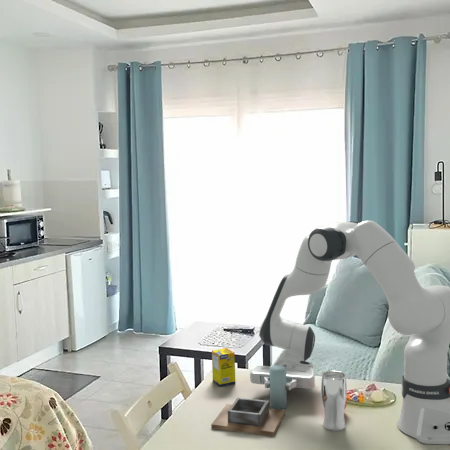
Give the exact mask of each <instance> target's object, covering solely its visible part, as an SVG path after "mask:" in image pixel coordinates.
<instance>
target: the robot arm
mask: <svg viewBox="0 0 450 450" xmlns="http://www.w3.org/2000/svg"><path fill="white" fill-rule="evenodd" d="M296 256H297V257H296V260H295V265H294V268H293V270H292V271H291V272H290V273H289V274H286V275H284V276H283V278H281V280H280V282H279V284H278V287H277V288H276V291H275V293H274V296H273V299H272V301H271V303H270V306H269V308H268V311H267V313H266V315H265V318H264V319H263V321H262V323H261V325H260V327H259V335H258V337H259V339H260V340H261V341H262V343H263V344H264V345H265V346H271V347H275V348H279V349H283V351H282V353H281V354H280V355H279V357H278V358H277V360H276V362H275V363H274V364H273V366H274V365H281V366H284V367H286V391H291V390H292V389H295V388H297V389H298V388H300V389H308V390H310V389H311V390H312V389H314V388H315V385H316V384H315V383H316V382H315V381H316V378H315V376H316V375H315V367H314V364H313V363H312V362H309V361H307V360H308V359H310V357H311V355H312V354H313V350H314V347H315V343H316V335H315V332H314V330H313V329H312V327H311V326H309V325H306V324H302V323H299V322H296V321H291V320H289V319H286V318H282V317H281V312H282V309H283V307H284V305H285V303H286V300H287V299H289V298H291V297H297V296H309V295H313V294H315V293H318V292H320V291H321V290H323V288H324V287H325V286H326V284H327V281H328V279H329V275H330V270H331V266H332V265H331V264H332V261H335V260H336V261H338V260H345V259H349V258H352V257H355V256H357V258H358V259H360V261H361V262H362V264H363V265H364V266H365V268H367V270H368V271H369V273H370V274H371V275H372V276H373V278H374V279H375V281H376V283H378V284H379V286H380V288H381V290H382V291H383V294H384V296H385V298H386V300H387V303H388V311H387V318H388V321H389V324H390V325H391V327H392V328H393V329H394V330H395V331H396V332H397V333H399V334H400V335H403V336H409V339H408V342H407V343H406V344H405V347H404V351H403V375H402V380H401V395H402V403H401V409H400V414H399V418H398V420H397V427H398V429H399V431H401V432H402V433H404V434H406V435H407V436H410V437H412V438H413V439H414V438H415V439H416V440H417V441H418V442H420V443H422V444H427V445H433V444H434V445H450V379H448V375H447V373H448V371H447V370H448V369H447V368H448V353H449V347H450V286H447V285H442V284H435V285H429V286H426V287H422V285H421V284H420V282H419V281H418V278H417V276H416V273H415V268H416V266H415V262H414V261H413V260H412V259H411V258H410V256H409V255H408V254H407V252H405V250H404V249H403V248H402V246H401V245H400V244H399V243H398V242H397V241H396V240H395V238H394V237H393V236H392V235H391V234H390V233H389V232H388V231H387V230H386V229H385V228H383V227H382V226H381V225H380V224H378V223H377V222H376V221H374V220H370V219H369V220H368V219H367V220H363V221H361V222H360V221H355V220H354V221H353V220H352V221H348V222H347V221H346V222H345V221H344V222H335V223H334V222H333V223H330V224H326V225H321V226H319V227H317V228H315V229H313V230H312V231H311V232H310V233H309V234H308V235H306V236H304V238H303V240H302V242H301V244H300V247H299V249H298V252H297V255H296ZM270 367H271V366H270V365H257V366H256V367H254V368H253V369H252V370H250V374H249V377H250V380H249V381H250V382H251V383H252V384H255V385H264V388H265V389H270Z"/></svg>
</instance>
